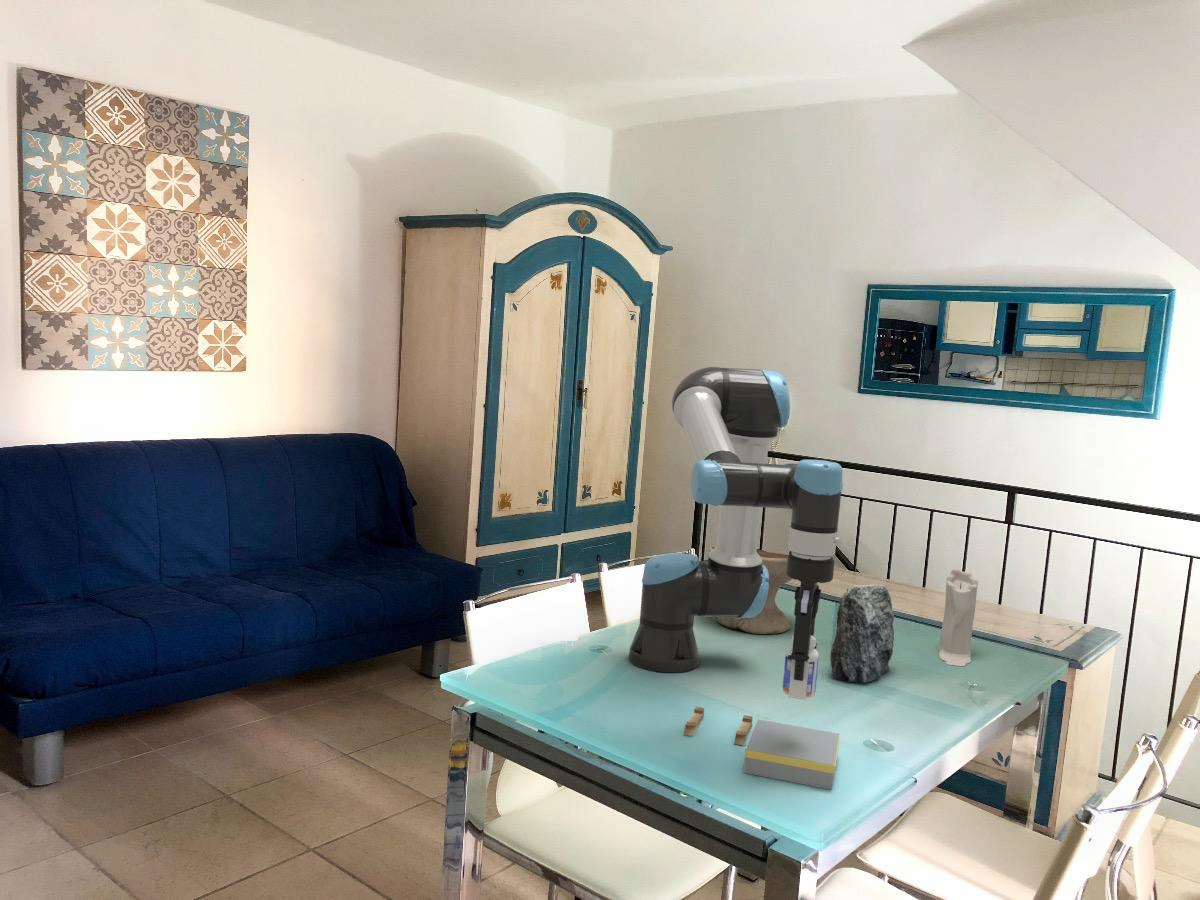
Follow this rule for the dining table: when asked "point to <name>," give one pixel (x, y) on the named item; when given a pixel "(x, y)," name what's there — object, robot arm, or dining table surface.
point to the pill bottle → (811, 670)
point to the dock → (792, 754)
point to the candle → (958, 618)
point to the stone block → (863, 634)
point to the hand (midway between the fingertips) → (798, 691)
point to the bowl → (770, 615)
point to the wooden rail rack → (698, 716)
